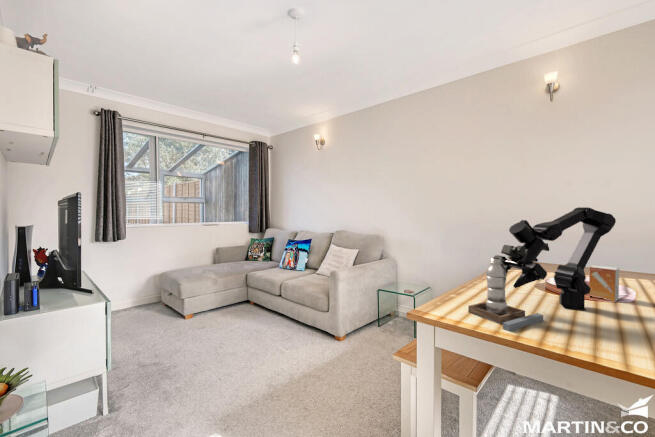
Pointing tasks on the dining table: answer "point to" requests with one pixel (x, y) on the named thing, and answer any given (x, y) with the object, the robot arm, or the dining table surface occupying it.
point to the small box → (604, 282)
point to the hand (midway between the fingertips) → (503, 283)
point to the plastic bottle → (496, 287)
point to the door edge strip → (522, 321)
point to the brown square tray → (509, 315)
